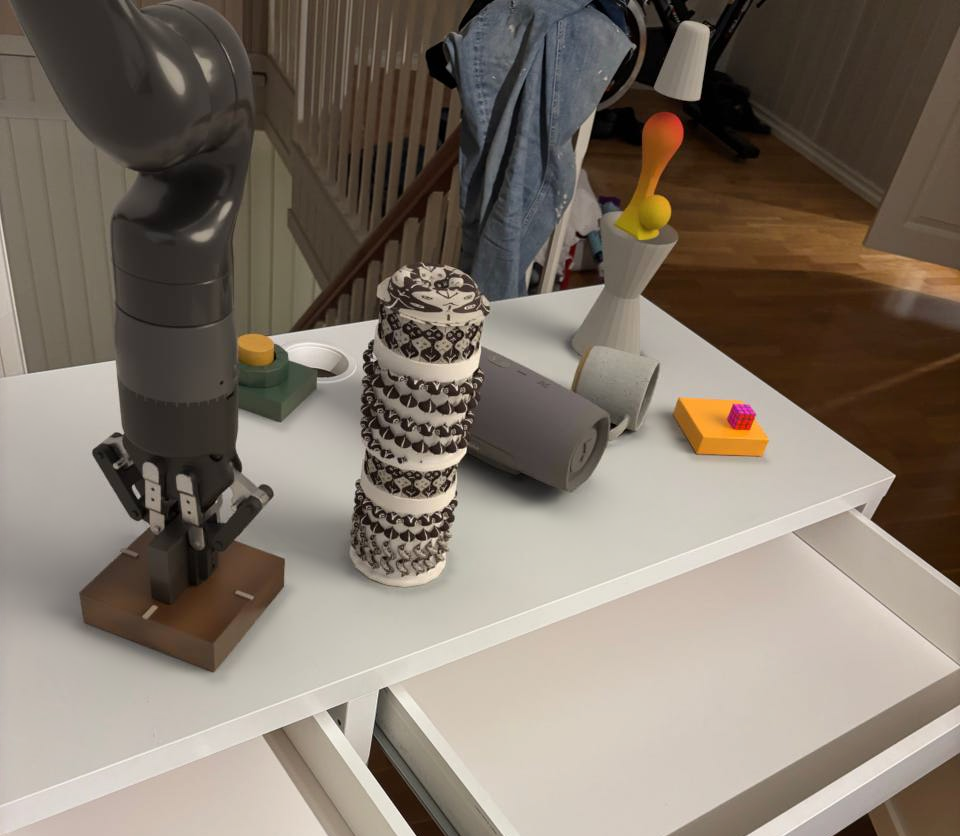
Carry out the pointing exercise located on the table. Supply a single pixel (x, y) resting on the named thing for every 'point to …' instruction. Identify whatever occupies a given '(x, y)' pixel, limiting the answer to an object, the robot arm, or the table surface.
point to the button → (255, 349)
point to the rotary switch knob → (169, 561)
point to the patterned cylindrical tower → (416, 421)
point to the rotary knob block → (184, 602)
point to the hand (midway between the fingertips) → (187, 572)
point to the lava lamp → (644, 207)
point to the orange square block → (720, 426)
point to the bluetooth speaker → (535, 425)
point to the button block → (275, 386)
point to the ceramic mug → (617, 385)
